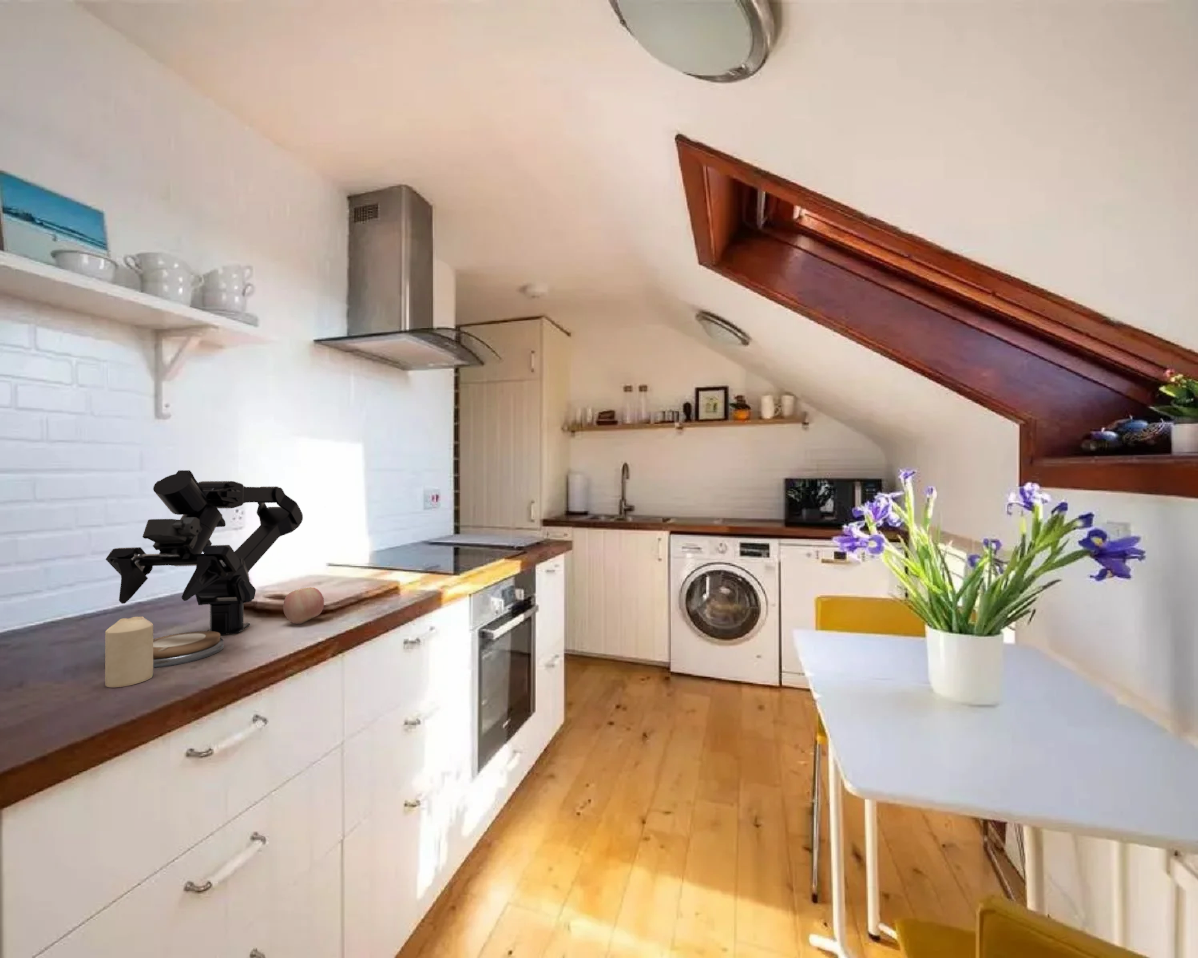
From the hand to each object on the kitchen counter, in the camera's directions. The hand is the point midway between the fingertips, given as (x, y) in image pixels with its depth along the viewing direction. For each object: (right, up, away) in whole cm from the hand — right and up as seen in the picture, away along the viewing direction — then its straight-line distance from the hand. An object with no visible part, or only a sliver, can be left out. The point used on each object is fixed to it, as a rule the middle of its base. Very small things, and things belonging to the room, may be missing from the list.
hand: (153, 600), depth 82 cm
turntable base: (-1, -12, +7) cm, 13 cm away
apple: (+10, -12, +26) cm, 30 cm away
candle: (+1, -12, -5) cm, 13 cm away
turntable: (-1, -10, +7) cm, 12 cm away
